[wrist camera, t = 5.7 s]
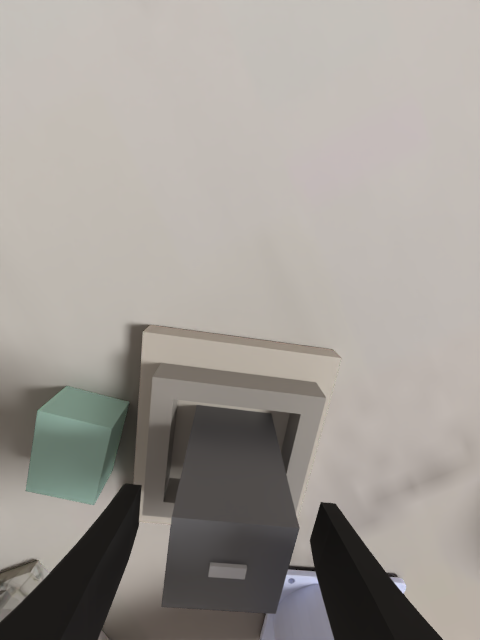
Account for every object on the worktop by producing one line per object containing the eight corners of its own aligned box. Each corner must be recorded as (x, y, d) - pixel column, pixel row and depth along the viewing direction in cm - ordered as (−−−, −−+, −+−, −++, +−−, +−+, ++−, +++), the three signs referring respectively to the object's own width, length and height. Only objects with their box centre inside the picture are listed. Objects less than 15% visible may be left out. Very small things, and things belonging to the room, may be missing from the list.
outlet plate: (333, 349, 15) (355, 371, 12) (289, 516, 18) (300, 562, 15) (150, 324, 14) (131, 342, 11) (137, 502, 17) (120, 549, 14)
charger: (271, 413, 14) (300, 531, 8) (258, 473, 15) (276, 617, 9) (196, 404, 14) (170, 520, 8) (188, 467, 15) (160, 610, 9)
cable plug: (130, 399, 15) (112, 428, 13) (111, 477, 17) (91, 516, 14) (69, 383, 15) (37, 410, 12) (54, 464, 16) (23, 502, 14)
